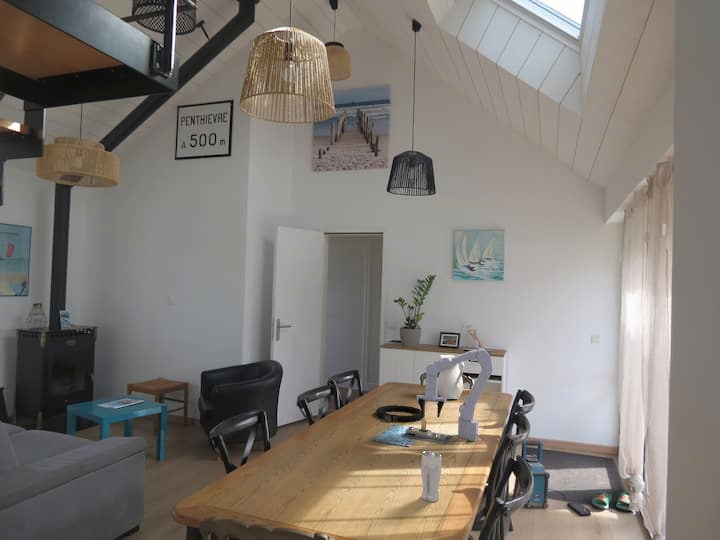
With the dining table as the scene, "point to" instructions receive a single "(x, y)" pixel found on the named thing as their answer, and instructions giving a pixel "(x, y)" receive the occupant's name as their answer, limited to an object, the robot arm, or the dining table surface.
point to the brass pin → (423, 425)
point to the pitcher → (451, 381)
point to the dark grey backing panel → (413, 436)
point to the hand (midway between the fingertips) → (430, 415)
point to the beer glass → (430, 475)
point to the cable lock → (399, 418)
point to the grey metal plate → (426, 434)
